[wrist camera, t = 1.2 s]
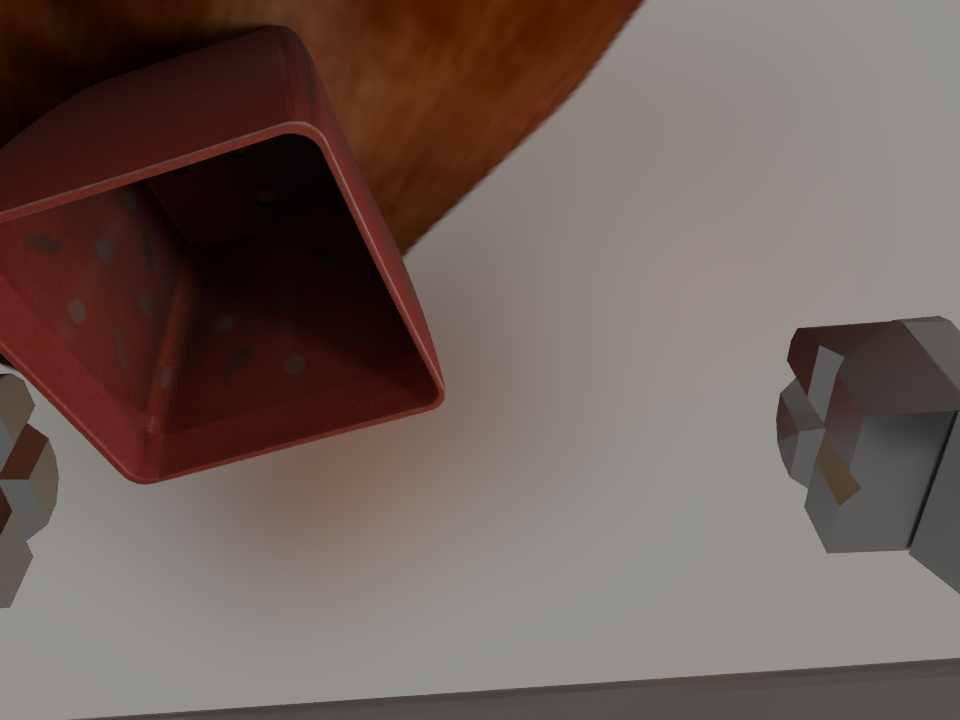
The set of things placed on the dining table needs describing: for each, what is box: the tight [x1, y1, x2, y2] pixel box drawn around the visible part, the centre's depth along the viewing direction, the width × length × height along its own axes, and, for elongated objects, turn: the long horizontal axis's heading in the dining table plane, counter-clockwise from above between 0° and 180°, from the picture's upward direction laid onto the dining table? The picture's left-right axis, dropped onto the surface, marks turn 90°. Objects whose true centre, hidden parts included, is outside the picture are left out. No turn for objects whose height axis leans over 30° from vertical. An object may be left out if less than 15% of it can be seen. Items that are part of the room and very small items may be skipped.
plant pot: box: [0, 25, 447, 485], centre depth 50 cm, size 19×19×17 cm
